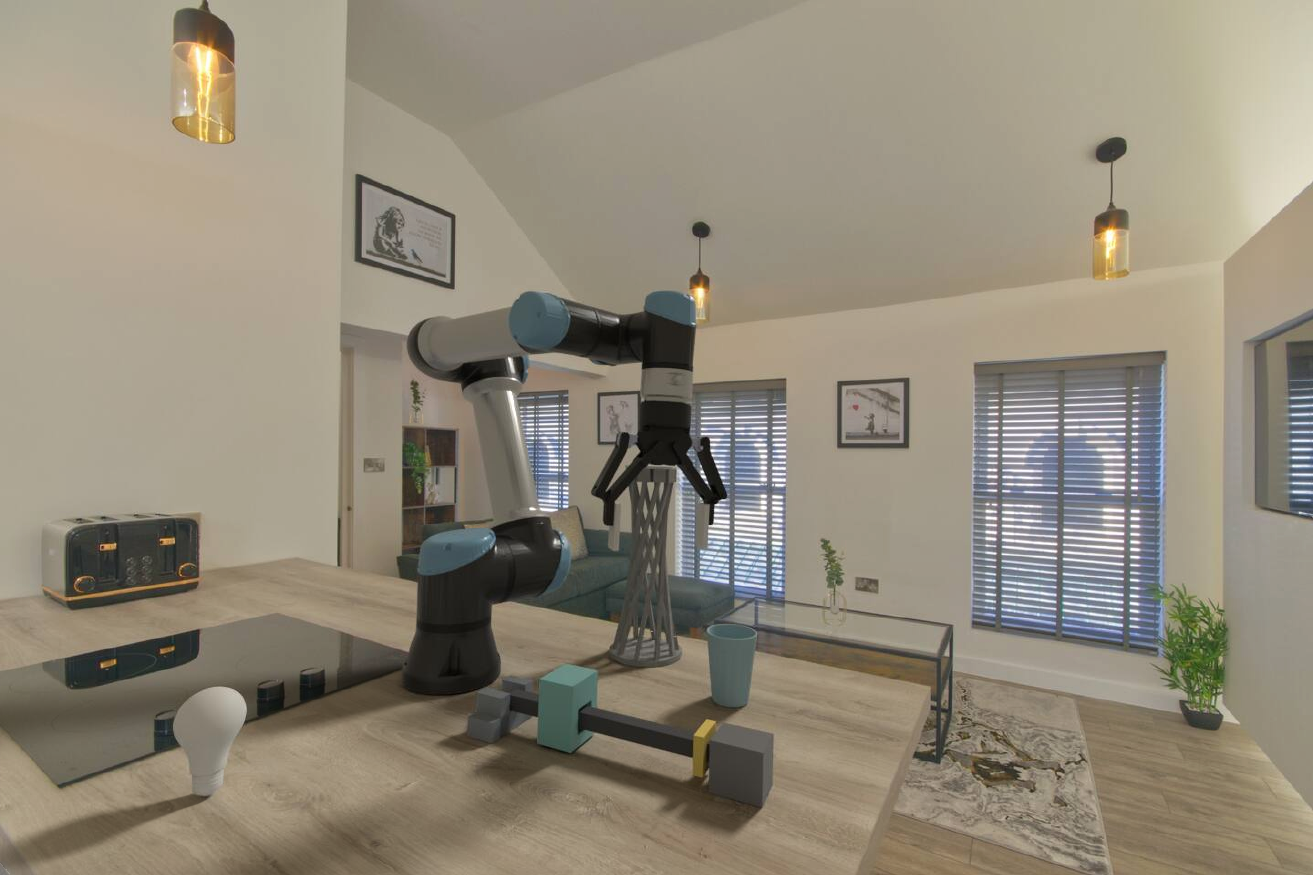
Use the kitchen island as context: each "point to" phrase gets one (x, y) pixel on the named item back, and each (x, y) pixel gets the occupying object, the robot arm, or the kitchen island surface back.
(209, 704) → the lightbulb
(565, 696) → the sleeve
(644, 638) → the grey lattice tower
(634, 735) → the dark grey long bar
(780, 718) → the kitchen island surface
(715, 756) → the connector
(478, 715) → the grey stepped brick
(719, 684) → the cup
